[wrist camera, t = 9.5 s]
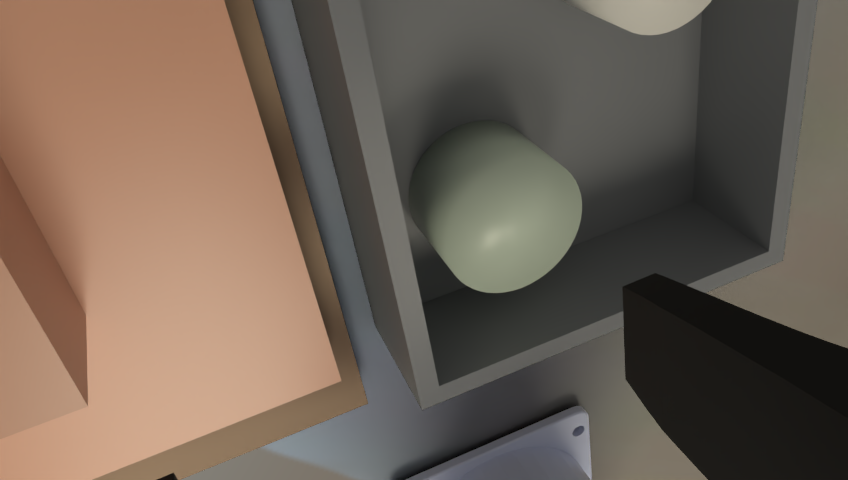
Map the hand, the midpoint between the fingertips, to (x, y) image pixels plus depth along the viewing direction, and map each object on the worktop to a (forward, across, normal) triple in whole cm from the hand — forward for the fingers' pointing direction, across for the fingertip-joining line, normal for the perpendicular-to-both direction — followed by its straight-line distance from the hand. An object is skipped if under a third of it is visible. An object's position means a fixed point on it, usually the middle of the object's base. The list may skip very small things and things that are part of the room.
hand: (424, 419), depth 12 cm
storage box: (+10, -7, 0) cm, 13 cm away
